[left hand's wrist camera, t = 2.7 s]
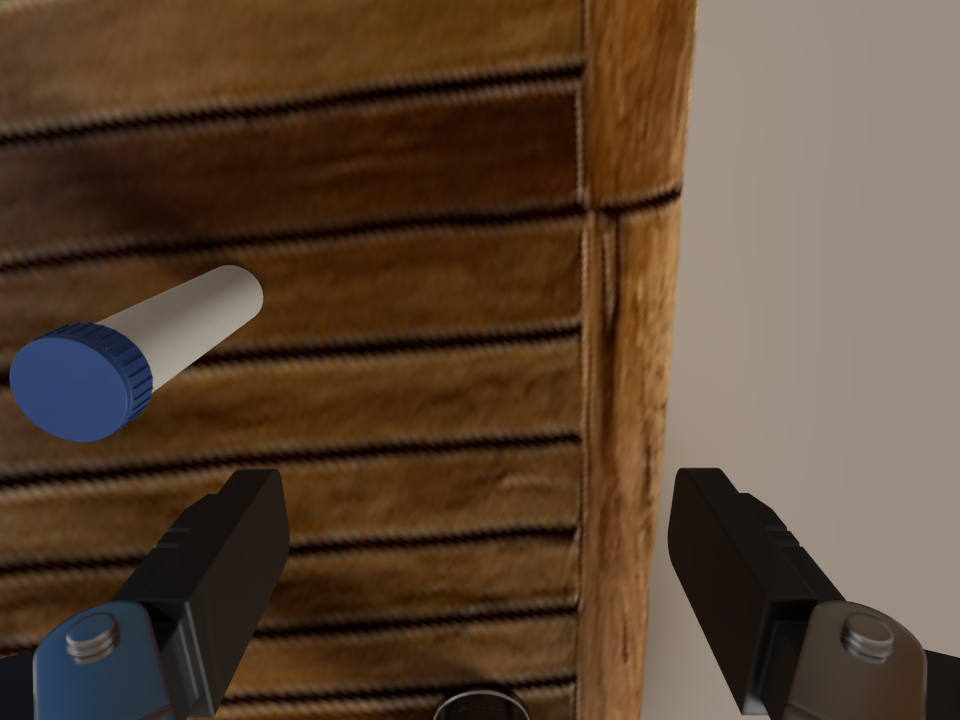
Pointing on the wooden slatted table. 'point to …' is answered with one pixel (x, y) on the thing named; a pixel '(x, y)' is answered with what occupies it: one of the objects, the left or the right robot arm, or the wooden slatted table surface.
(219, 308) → the white tube
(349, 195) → the wooden slatted table surface
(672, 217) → the wooden slatted table surface
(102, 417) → the lid
